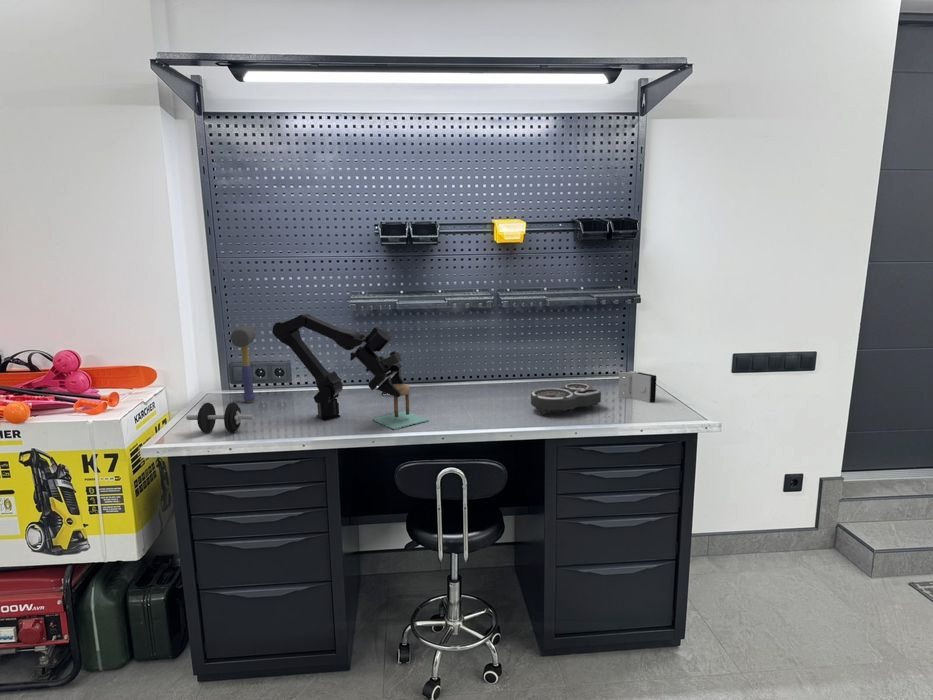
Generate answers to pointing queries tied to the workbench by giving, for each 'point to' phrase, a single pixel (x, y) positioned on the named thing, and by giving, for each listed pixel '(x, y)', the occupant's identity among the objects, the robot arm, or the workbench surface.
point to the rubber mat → (400, 420)
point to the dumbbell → (219, 417)
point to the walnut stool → (403, 390)
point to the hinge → (637, 386)
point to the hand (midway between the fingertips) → (403, 393)
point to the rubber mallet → (245, 357)
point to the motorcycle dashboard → (565, 398)
